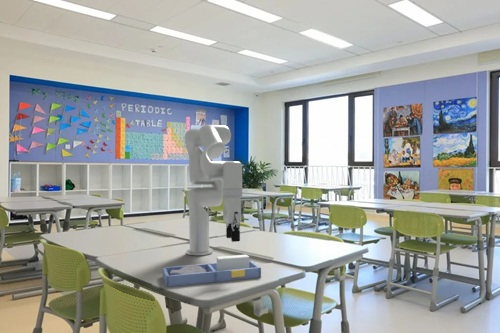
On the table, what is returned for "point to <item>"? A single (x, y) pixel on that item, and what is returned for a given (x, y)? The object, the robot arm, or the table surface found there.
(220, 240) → the table surface
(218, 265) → the white rectangular block
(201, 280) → the blue divided tray
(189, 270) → the grey grainy mound
